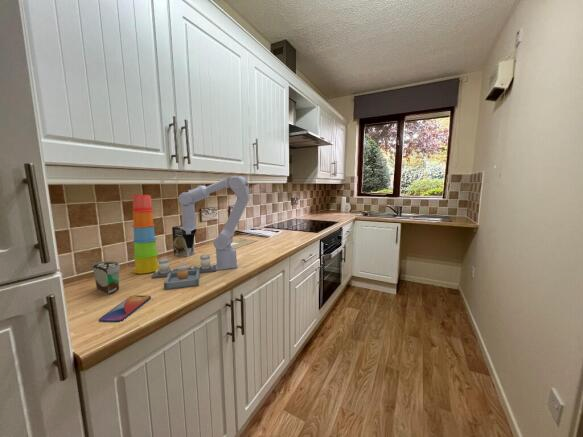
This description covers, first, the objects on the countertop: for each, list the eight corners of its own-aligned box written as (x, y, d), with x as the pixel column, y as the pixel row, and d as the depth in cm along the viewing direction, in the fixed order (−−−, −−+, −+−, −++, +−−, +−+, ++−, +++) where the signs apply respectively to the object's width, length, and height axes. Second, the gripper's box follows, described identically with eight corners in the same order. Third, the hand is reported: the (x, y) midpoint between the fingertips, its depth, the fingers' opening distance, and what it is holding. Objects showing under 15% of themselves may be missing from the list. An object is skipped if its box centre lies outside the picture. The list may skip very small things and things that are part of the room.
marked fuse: (188, 278, 102) (187, 264, 101) (188, 281, 98) (187, 267, 97) (178, 279, 100) (177, 265, 99) (177, 283, 97) (176, 268, 96)
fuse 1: (170, 270, 109) (169, 257, 108) (169, 273, 105) (168, 260, 105) (160, 271, 108) (159, 258, 107) (158, 274, 104) (157, 261, 103)
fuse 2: (210, 266, 115) (209, 254, 114) (210, 269, 111) (209, 256, 110) (201, 267, 113) (200, 255, 112) (200, 270, 110) (200, 257, 109)
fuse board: (215, 266, 117) (215, 262, 117) (216, 271, 110) (215, 267, 110) (155, 272, 109) (154, 268, 108) (151, 278, 102) (151, 274, 102)
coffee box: (173, 256, 133) (171, 227, 131) (181, 252, 139) (179, 225, 137) (187, 257, 130) (185, 228, 128) (195, 254, 137) (193, 225, 134)
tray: (199, 274, 107) (199, 269, 106) (198, 285, 95) (198, 279, 95) (169, 277, 103) (168, 272, 103) (164, 289, 92) (164, 283, 91)
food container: (129, 289, 92) (126, 264, 90) (110, 296, 87) (107, 269, 85) (113, 282, 98) (110, 258, 96) (95, 288, 93) (91, 263, 91)
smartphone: (97, 323, 71) (96, 320, 71) (131, 298, 86) (131, 295, 86) (121, 324, 71) (121, 320, 71) (152, 298, 86) (152, 295, 85)
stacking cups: (128, 272, 109) (120, 195, 104) (150, 265, 118) (144, 194, 113) (143, 276, 105) (135, 195, 100) (164, 268, 114) (158, 194, 109)
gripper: (181, 216, 120) (182, 243, 122) (177, 220, 106) (179, 250, 108) (196, 215, 122) (197, 241, 124) (194, 220, 108) (196, 249, 110)
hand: (190, 246), depth 116 cm, fingers open, 7 cm apart
